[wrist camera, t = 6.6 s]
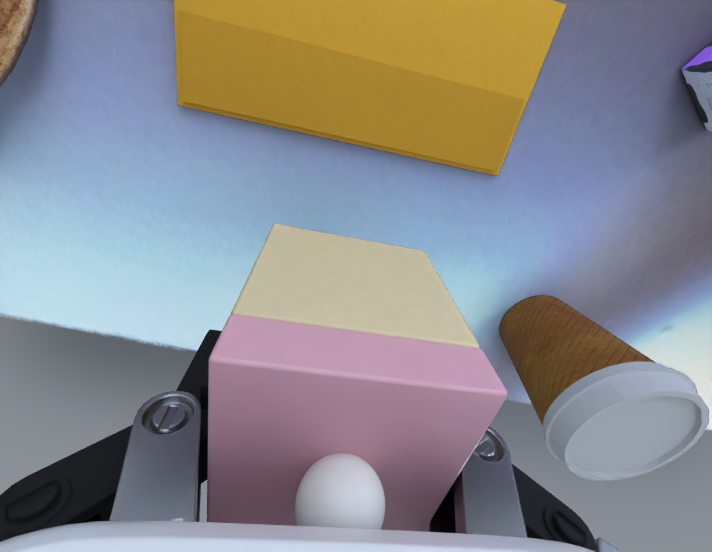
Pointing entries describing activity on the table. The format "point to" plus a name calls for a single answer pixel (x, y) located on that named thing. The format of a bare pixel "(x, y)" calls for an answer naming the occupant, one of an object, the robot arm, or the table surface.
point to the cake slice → (343, 388)
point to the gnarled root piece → (14, 32)
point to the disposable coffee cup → (599, 393)
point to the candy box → (701, 83)
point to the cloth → (370, 70)
